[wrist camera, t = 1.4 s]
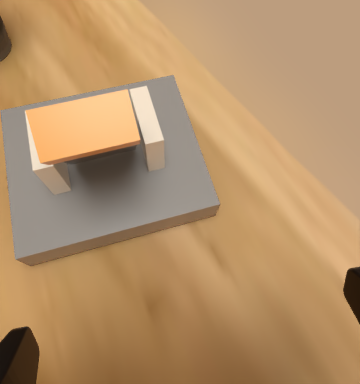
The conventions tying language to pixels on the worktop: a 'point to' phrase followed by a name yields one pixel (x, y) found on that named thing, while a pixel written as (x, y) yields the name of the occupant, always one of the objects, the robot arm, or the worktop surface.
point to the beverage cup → (4, 41)
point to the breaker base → (107, 180)
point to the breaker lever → (84, 128)
